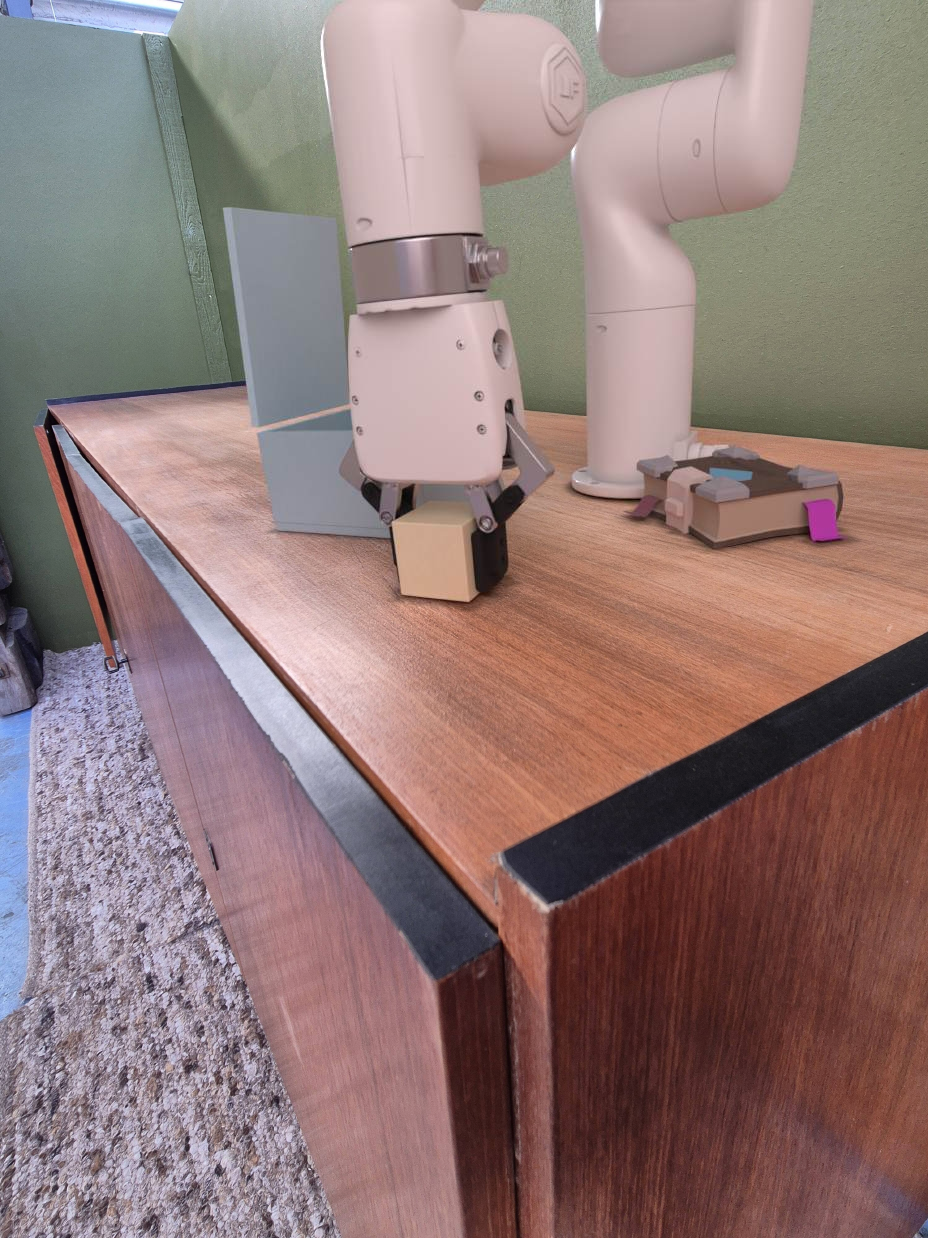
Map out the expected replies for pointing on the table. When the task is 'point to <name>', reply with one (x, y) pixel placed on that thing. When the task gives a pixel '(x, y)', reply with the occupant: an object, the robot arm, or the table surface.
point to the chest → (325, 480)
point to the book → (740, 497)
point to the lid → (288, 312)
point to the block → (436, 551)
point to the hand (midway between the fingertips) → (451, 578)
